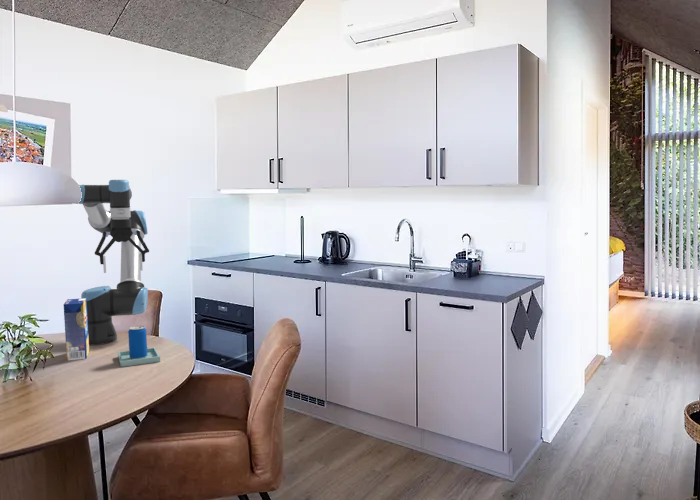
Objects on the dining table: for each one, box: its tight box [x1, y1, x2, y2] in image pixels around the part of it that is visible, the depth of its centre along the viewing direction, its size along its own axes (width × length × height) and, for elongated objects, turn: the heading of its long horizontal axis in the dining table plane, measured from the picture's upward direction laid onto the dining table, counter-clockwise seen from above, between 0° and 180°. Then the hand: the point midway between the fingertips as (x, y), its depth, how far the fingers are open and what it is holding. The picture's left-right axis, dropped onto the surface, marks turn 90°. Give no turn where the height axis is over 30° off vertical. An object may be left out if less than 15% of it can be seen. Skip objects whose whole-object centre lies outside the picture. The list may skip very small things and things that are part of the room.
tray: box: [117, 347, 161, 368], centre depth 217 cm, size 14×14×2 cm
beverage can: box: [127, 325, 148, 360], centre depth 216 cm, size 6×6×12 cm
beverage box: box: [63, 298, 90, 361], centre depth 221 cm, size 7×11×22 cm, turn 19°
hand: (123, 271), depth 226 cm, fingers open, 13 cm apart
